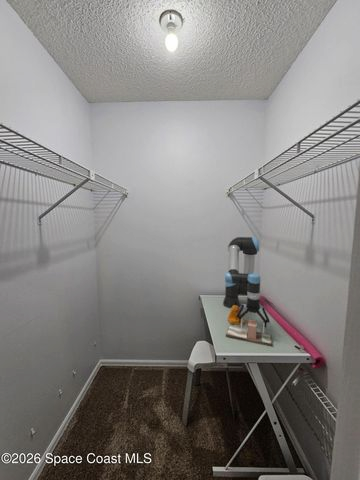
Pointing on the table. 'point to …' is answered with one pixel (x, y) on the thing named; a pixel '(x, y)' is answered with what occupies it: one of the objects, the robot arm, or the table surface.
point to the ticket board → (243, 335)
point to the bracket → (234, 315)
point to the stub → (252, 329)
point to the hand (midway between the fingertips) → (252, 330)
